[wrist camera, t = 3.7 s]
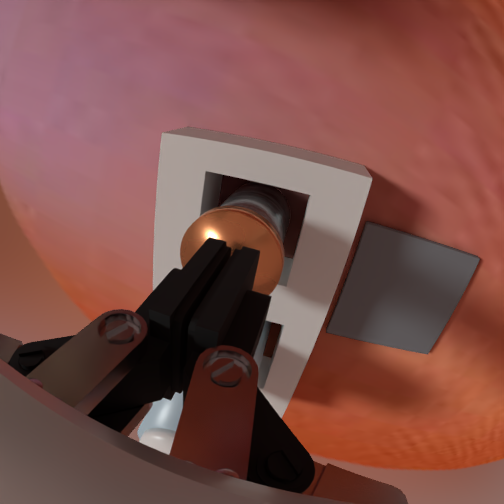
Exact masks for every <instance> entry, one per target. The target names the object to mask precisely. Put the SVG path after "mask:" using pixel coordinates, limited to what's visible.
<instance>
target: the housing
mask: <svg viewBox="0 0 504 504" xmlns="http://www.w3.org/2000/svg"><path fill="white" fill-rule="evenodd" d="M223 175H227V176H232V177H237V178H241V179H246V180H250V181H255V182H259V183H263V184H267V185H272V186H276V187H280V188H284V189H288V190H292V191H296V192H300V193H304V194H308V195H309V198H308V202H307V206H306V210H305V214H304V218H303V222H302V226H301V230H300V234H299V237H298V241H297V245H296V249H295V253H294V256H293V259H292V258H288V257H284V266H283V270H282V273H281V277H280V280H279V282H278V284H277V286H276V288H275V289H274V290H273V292H272V293H271V294H270V295H269V296H272V297H271V302H270V306H269V309H268V313H267V317H266V321H270V322H274V323H278V324H281V325H282V326H281V329H280V333H279V336H278V339H277V342H276V345H275V349H274V352H273V355H272V358H270V357H266V356H263V357H262V360H261V364H260V367H259V371H258V372H259V375H258V384H257V387H258V388H259V389H260V391H261V392H262V393H263V395H264V396H265V397H266V399H267V400H268V401H269V403H270V404H271V405H272V407H273V408H274V409H275V411H276V412H277V413H278V415H279V416H280V417H281V418H282V416H283V414H284V412H285V410H286V408H287V406H288V404H289V401H290V399H291V397H292V395H293V393H294V391H295V388H296V386H297V384H298V382H299V379H300V377H301V375H302V373H303V370H304V368H305V366H306V363H307V361H308V359H309V356H310V354H311V352H312V349H313V347H314V345H315V342H316V340H317V337H318V335H319V332H320V330H321V327H322V325H323V322H324V320H325V317H326V315H327V312H328V310H329V307H330V304H331V302H332V299H333V297H334V294H335V291H336V288H337V286H338V283H339V280H340V278H341V275H342V272H343V269H344V266H345V264H346V261H347V258H348V255H349V252H350V249H351V246H352V243H353V240H354V237H355V234H356V231H357V228H358V225H359V222H360V219H361V215H362V212H363V209H364V206H365V202H366V199H367V196H368V193H369V189H370V186H371V182H372V177H371V175H370V174H369V172H368V171H367V169H366V168H365V166H364V165H360V164H357V163H354V162H350V161H346V160H343V159H339V158H336V157H332V156H328V155H324V154H320V153H316V152H312V151H308V150H304V149H300V148H296V147H292V146H287V145H283V144H278V143H274V142H269V141H265V140H260V139H255V138H250V137H245V136H239V135H234V134H229V133H223V132H217V131H211V130H205V129H199V128H192V127H185V128H180V129H176V130H171V131H167V132H163V133H162V137H161V146H160V156H159V167H158V179H157V193H156V208H155V227H154V254H153V291H154V290H155V288H156V287H157V286H158V285H159V284H160V283H161V281H162V280H163V279H164V278H165V277H166V276H167V275H168V273H169V272H170V271H171V270H172V269H174V268H178V269H182V268H183V267H182V264H181V259H180V247H181V242H182V238H183V236H184V234H185V232H186V231H187V229H188V228H189V227H190V226H191V225H192V223H193V222H195V221H196V220H197V219H198V218H199V217H200V216H201V215H202V214H204V213H205V212H207V211H208V210H210V209H213V208H216V207H218V204H219V197H220V190H221V183H222V177H223Z"/></svg>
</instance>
